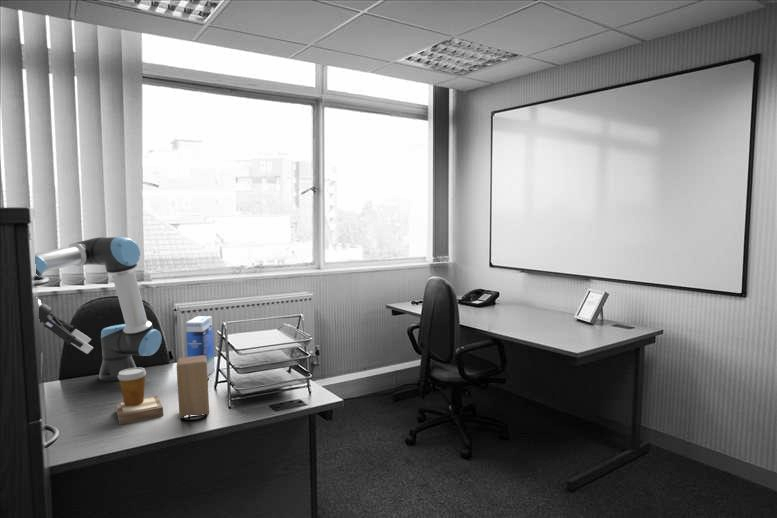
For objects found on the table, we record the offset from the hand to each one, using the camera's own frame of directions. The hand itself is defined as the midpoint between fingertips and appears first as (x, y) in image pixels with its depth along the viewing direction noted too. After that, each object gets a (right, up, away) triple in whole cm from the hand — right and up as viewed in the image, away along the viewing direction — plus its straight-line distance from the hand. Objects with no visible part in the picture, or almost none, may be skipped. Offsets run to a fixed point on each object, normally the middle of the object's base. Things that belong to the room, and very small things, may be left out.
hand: (89, 346), depth 178 cm
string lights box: (+22, -22, +48) cm, 57 cm away
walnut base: (+16, -25, +4) cm, 30 cm away
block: (+36, -25, +4) cm, 44 cm away
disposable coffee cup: (+13, -22, +6) cm, 26 cm away
